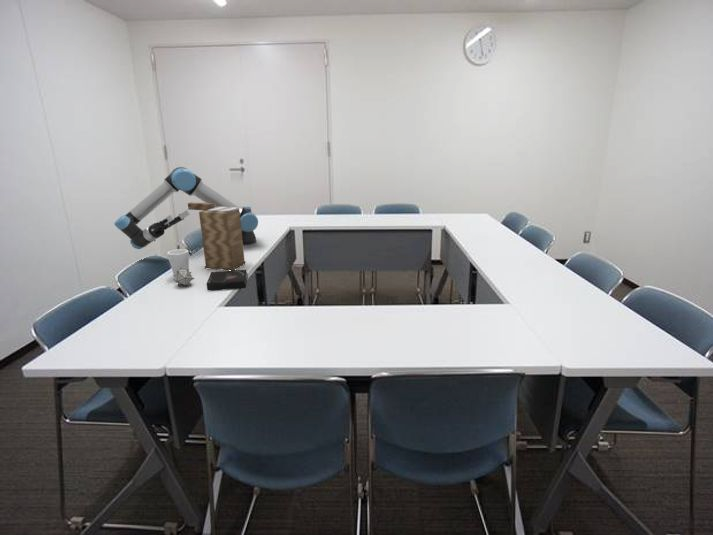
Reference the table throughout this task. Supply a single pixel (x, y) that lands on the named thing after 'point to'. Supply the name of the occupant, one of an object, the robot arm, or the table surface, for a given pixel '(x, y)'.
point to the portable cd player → (227, 280)
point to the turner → (210, 207)
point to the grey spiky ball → (183, 277)
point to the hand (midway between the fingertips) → (180, 214)
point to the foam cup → (178, 260)
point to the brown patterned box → (222, 239)
